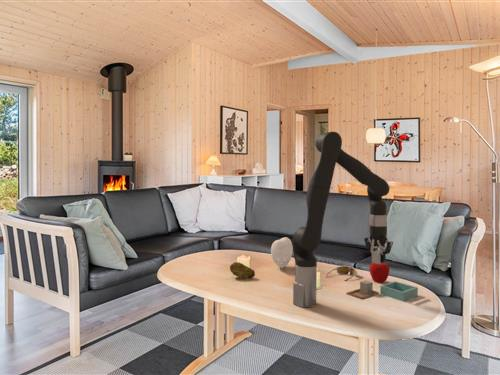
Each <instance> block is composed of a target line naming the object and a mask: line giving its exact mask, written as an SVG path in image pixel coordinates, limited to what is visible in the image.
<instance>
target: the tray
mask: <svg viewBox="0 0 500 375" xmlns="http://www.w3.org/2000/svg"><path fill="white" fill-rule="evenodd" d="M379 292H380V291H377V290H376V291H375V290H373V289H372V293H371V294H368V295H367V294H364V293H360V288H357V289H354V290H351V291H347V292H346V293H345V294H346V295H347V296H350V297H354V298H356V299H359V300H364V299H366V298H367V299H368V298H370V297H373V296H376V295H379V294H380V293H379Z"/></svg>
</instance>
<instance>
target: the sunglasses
mask: <svg viewBox="0 0 500 375" xmlns="http://www.w3.org/2000/svg"><path fill="white" fill-rule="evenodd" d="M333 271H336V273H337V274H338V275H339V274H340V275H348V274H349V275H350V277H348V278H346V279H344V280H343V282H347V281H348V280H351V279H353V278H354V277H355V278H357V276H358V273H357V272H358V271H357V270H356V268H355V267H353V266H351V265H350V266H349V265H339V266H337V267H335V268H333V269H331V270H329V271H328V272H327V274H326V276H325V279H326V278H328V275H329V274H330V273H331V272H333Z"/></svg>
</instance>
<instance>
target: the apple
mask: <svg viewBox="0 0 500 375" xmlns="http://www.w3.org/2000/svg"><path fill="white" fill-rule="evenodd" d="M369 274H370V276H371V279H372V280H373V281H374V282H375V283H381V284H382V283H384V282H386V281H387V280H388V277H389V274H390V266H389V265H388V264H387V263H385V262H384V263H381V264H377V263H373V262H371V263H370V266H369Z"/></svg>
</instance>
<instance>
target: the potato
mask: <svg viewBox="0 0 500 375" xmlns="http://www.w3.org/2000/svg"><path fill="white" fill-rule="evenodd" d="M229 269H230V272H231V273H232V274H233V275H234V276H236V277H237V278H239V279H241V278H242V280H249V279H252V278H254V277H255V275H256V273H255V271H254V269H252V268H251V267H249V266H247V265H245V264H243V263H241V262H239V261H238V262H236V261H235V262H233V263H232V264H230V265H229Z"/></svg>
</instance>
